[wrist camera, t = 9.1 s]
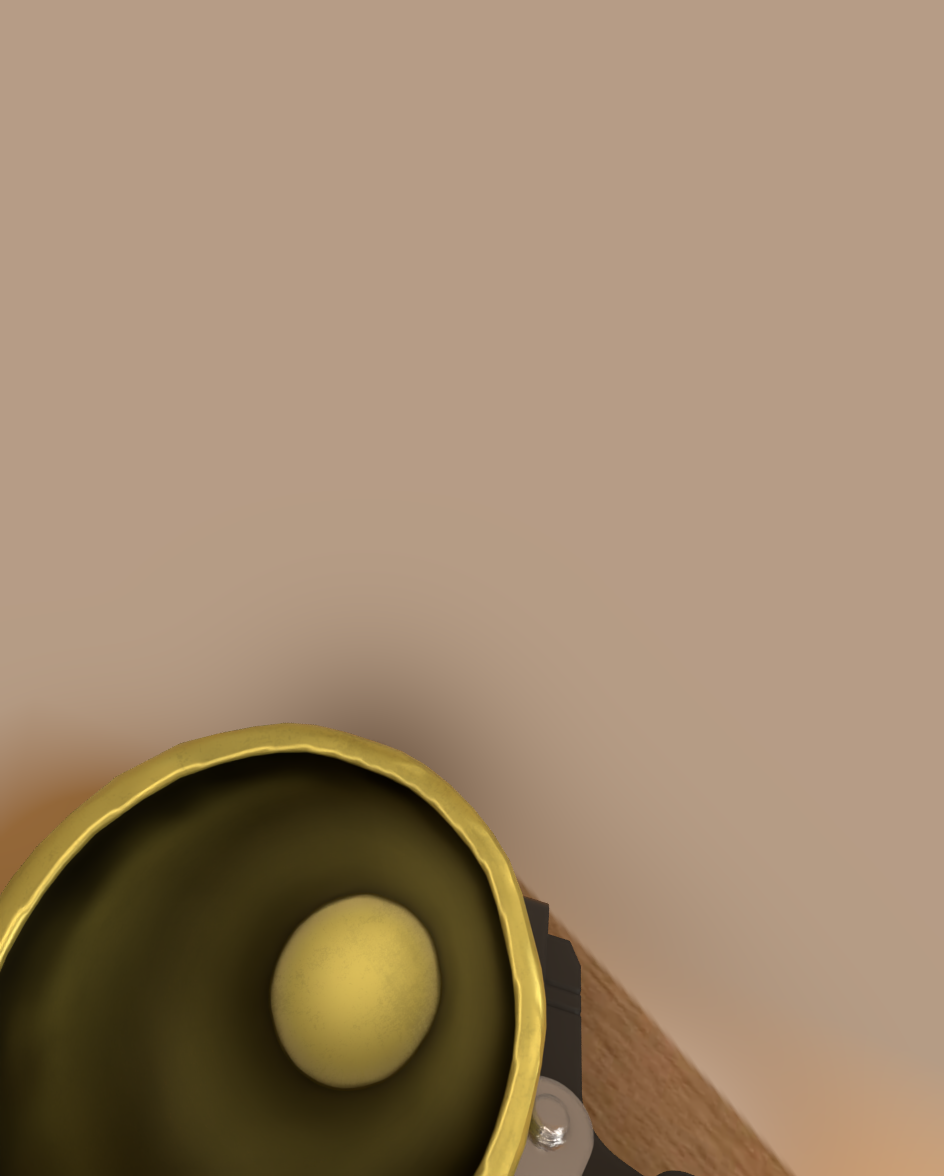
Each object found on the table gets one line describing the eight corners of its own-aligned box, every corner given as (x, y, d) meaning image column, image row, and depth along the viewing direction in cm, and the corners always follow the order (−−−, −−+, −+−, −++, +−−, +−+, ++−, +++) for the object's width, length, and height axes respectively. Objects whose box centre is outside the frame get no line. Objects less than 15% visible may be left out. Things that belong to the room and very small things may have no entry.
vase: (503, 908, 20) (664, 799, 7) (423, 1172, 17) (459, 1745, 4) (304, 829, 20) (135, 602, 8) (193, 1071, 17) (-355, 1319, 5)
